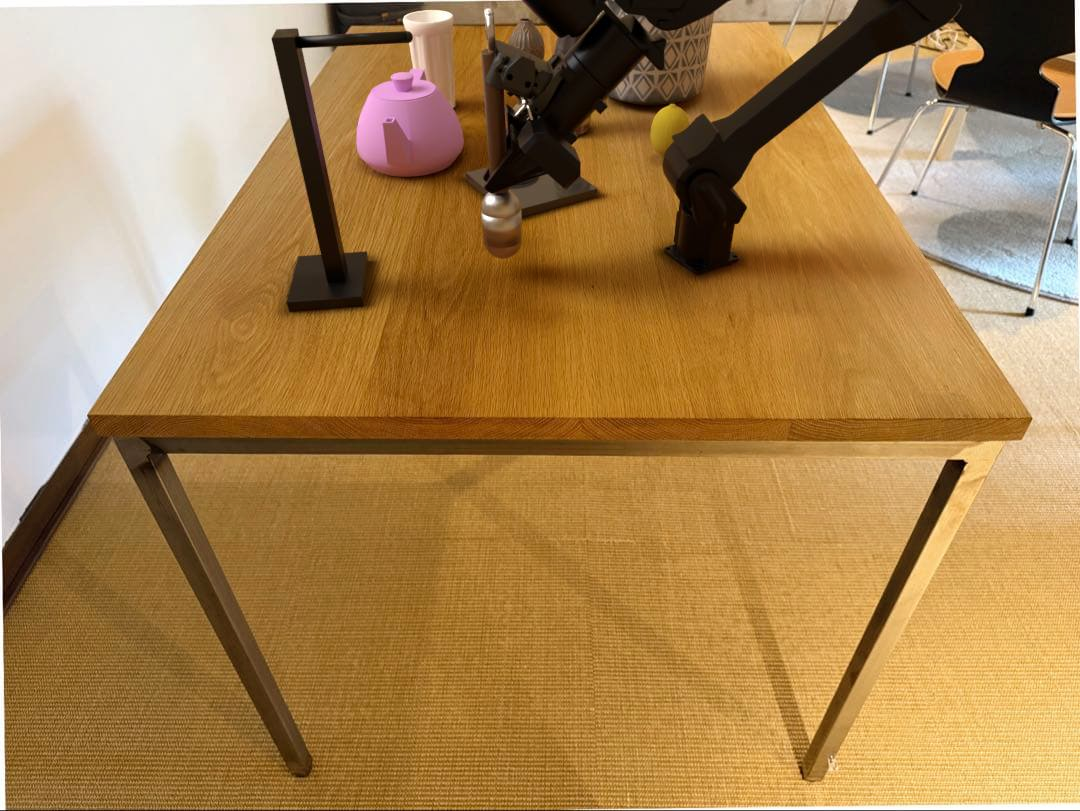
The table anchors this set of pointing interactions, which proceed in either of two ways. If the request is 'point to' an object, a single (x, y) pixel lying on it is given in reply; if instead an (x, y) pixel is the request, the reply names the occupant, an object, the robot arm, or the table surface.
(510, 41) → the vase
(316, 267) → the hanger
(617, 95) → the planter
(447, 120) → the teapot
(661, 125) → the lemon
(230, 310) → the table surface
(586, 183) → the hob
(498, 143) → the silver tipped brown rod
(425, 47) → the cup
